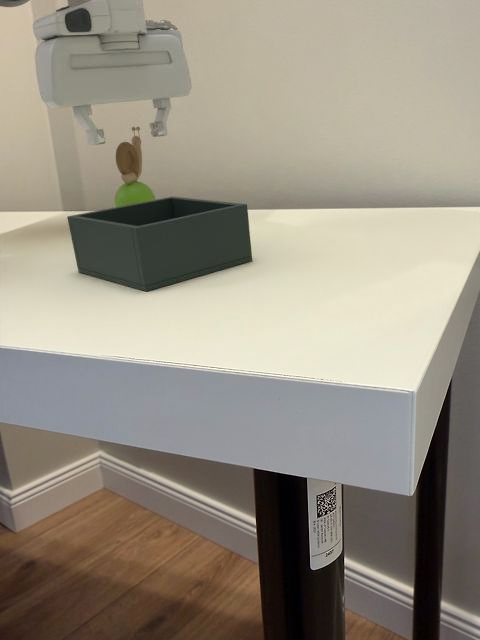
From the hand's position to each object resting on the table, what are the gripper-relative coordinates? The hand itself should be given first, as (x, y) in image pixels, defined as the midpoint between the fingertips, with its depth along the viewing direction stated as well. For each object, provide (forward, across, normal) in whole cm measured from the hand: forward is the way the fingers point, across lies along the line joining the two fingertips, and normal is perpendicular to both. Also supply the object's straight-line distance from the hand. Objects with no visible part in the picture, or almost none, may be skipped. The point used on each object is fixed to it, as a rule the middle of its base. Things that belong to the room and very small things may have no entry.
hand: (129, 140), depth 86 cm
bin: (+11, +13, +25) cm, 30 cm away
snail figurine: (+11, 0, 0) cm, 11 cm away
